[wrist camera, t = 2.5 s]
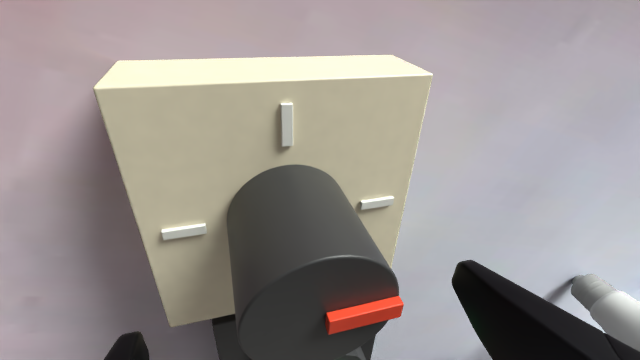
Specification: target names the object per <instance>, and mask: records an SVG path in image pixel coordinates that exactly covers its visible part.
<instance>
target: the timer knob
mask: <svg viewBox="0 0 640 360" xmlns="http://www.w3.org/2000/svg"><path fill="white" fill-rule="evenodd" d="M227 232H228V243H229V253H230V264H231V275H232V285H233V296H234V306H235V317H236V328H237V337H238V341H239V344H240V346H241V348H242V350H243V351H244V352H245V354H246V355H247V356H248V357H249V358H251V359H252V360H335V359H338V358H340V357H342V356H344V355H346V354H348V353H350V352H352V351H354V350H355V349H357V348H359V347H360V346H362V345H363V344H364V343H366V342H367V341H368V340H370V339H371V338H372V337H373V336H374V335H376V334H377V333H378V332H379V331H380V330H381V329H382V328H383V326H384V325H385V324H386V323H387V321H388V320H390V319H394V318H397V317H400V316H401V313H402V309H403V305H404V304H403V302H402V300H401V299H400V297H399V287H398V282H397V279H396V277H395V274H394V273H393V271H392V269H391V268H390V266H389V265H388V263H387V261H386V260H385V258H384V257H383V255H382V253H381V252H380V250H379V249H378V247H377V245H376V244H375V242H374V241H373V239H372V237H371V236H370V234H369V233H368V231H367V229H366V228H365V226H364V225H363V223H362V221H361V220H360V218H359V217H358V215H357V213H356V212H355V210H354V209H353V207H352V205H351V204H350V202H349V201H348V199H347V197H346V196H345V194H344V193H343V191H342V189H341V188H340V186H339V185H338V183H337V182H336V181H335V180H334V179H333V178H332V177H331V176H330V175H329V174H327V173H326V172H324V171H322V170H320V169H317V168H314V167H311V166H306V165H297V164H294V165H283V166H278V167H275V168H271V169H268V170H266V171H264V172H262V173H260V174H258V175H256V176H255V177H253V178H252V179H250V180H249V181H248V182H247V183H245V184H244V185H243V186H242V187H241V188H240V190H239V191H238V192H237V193H236V195H235V196H234V198H233V199H232V202H231V204H230V206H229V209H228V213H227Z"/></svg>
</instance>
